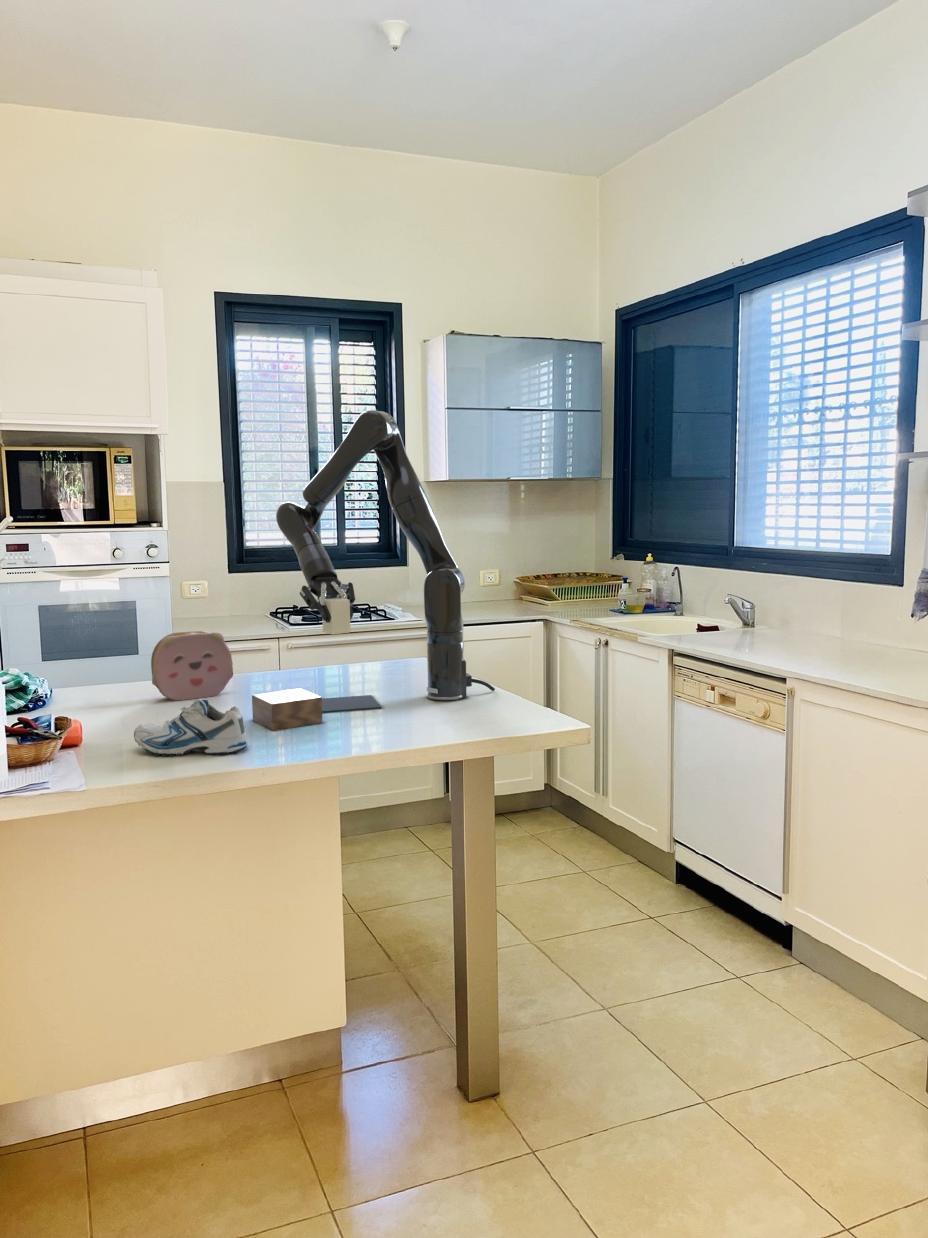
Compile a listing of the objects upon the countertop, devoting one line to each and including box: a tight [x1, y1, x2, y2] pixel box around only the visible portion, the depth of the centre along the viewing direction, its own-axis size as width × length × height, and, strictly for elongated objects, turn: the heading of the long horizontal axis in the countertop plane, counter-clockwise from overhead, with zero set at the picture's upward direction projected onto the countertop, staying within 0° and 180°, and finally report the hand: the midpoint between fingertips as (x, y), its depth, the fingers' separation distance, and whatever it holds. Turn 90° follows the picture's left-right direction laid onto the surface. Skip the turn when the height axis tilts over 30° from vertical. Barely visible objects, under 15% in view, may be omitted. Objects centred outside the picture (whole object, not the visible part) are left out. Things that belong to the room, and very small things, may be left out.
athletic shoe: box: [133, 698, 249, 757], centre depth 190 cm, size 10×23×12 cm, turn 94°
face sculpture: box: [150, 630, 234, 702], centre depth 240 cm, size 20×7×17 cm, turn 121°
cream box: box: [321, 598, 351, 635], centre depth 225 cm, size 5×5×8 cm
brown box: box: [251, 687, 323, 732], centre depth 213 cm, size 12×12×6 cm
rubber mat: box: [322, 694, 382, 714], centre depth 230 cm, size 16×14×1 cm
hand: (339, 619), depth 224 cm, fingers closed on cream box, 5 cm apart
